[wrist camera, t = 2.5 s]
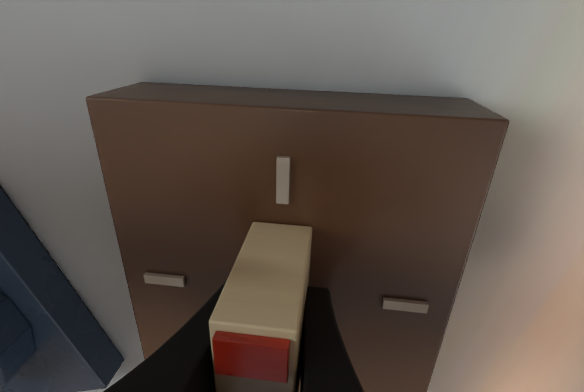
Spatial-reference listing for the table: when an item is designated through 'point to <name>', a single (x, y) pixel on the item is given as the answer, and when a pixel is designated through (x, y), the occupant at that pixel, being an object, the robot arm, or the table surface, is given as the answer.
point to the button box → (45, 320)
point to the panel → (301, 204)
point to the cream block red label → (263, 312)
